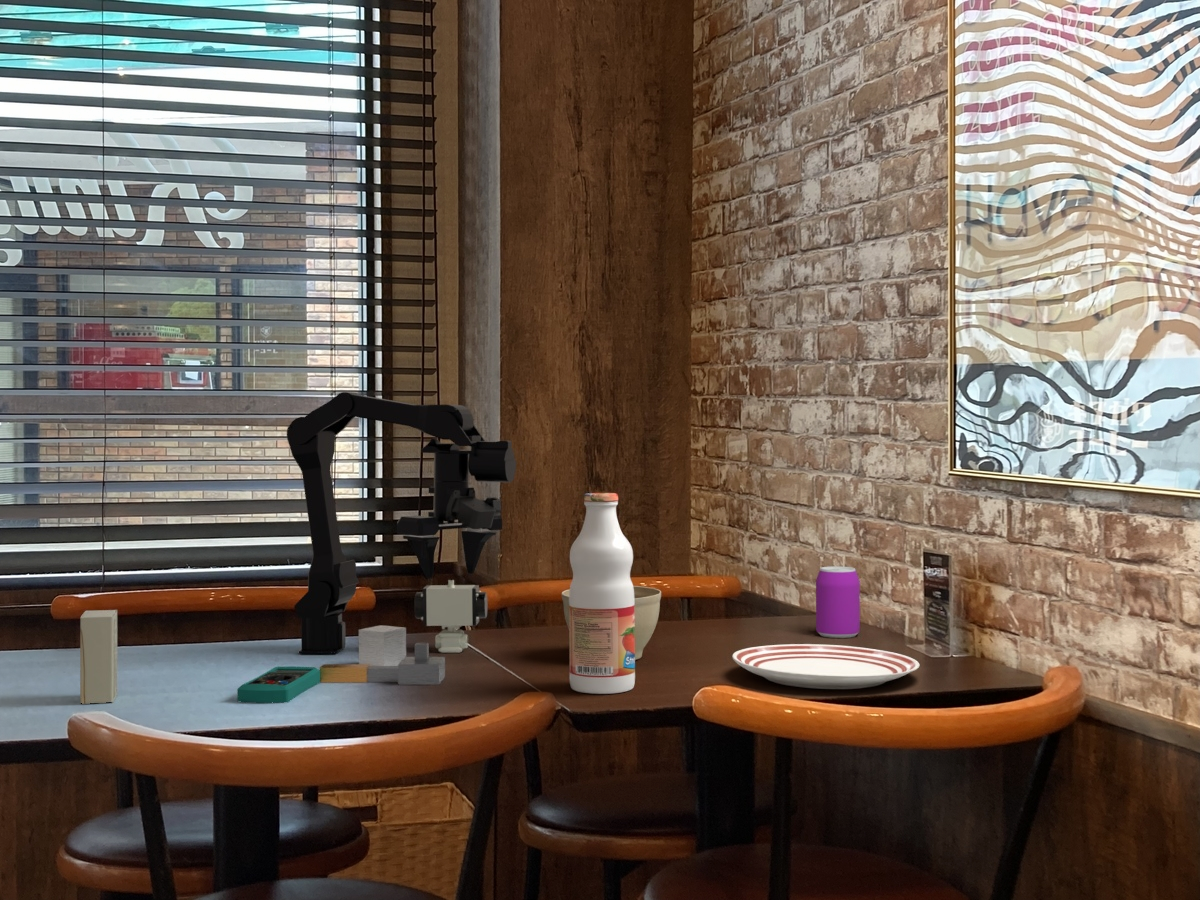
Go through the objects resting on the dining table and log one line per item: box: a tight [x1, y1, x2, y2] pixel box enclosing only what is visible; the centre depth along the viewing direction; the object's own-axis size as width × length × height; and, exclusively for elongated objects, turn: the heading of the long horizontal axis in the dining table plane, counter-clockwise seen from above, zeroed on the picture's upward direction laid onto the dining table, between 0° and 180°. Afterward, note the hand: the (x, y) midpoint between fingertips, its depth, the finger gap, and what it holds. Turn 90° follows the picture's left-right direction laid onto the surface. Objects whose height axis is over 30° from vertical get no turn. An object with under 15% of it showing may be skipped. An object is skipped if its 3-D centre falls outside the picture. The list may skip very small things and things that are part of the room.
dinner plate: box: [731, 643, 920, 690], centre depth 192 cm, size 28×27×3 cm
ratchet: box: [319, 642, 446, 686], centre depth 192 cm, size 18×6×6 cm, turn 89°
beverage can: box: [815, 565, 861, 639], centre depth 230 cm, size 8×8×12 cm
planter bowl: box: [561, 585, 662, 661], centre depth 209 cm, size 16×16×11 cm
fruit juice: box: [568, 492, 636, 695], centre depth 185 cm, size 9×9×28 cm
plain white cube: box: [358, 624, 407, 666], centre depth 203 cm, size 5×5×6 cm
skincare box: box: [79, 609, 118, 705], centre depth 180 cm, size 6×4×12 cm
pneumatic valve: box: [414, 579, 488, 654], centre depth 217 cm, size 6×12×12 cm, turn 89°
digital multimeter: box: [236, 666, 321, 704], centre depth 184 cm, size 7×15×3 cm, turn 174°
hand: (450, 576), depth 211 cm, fingers open, 9 cm apart
